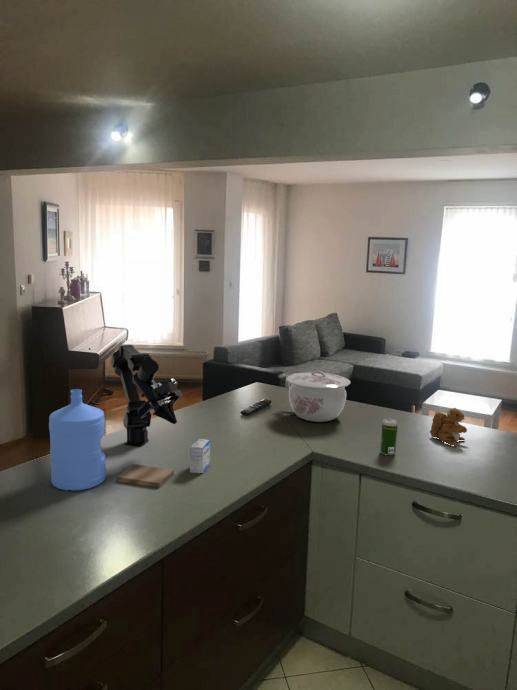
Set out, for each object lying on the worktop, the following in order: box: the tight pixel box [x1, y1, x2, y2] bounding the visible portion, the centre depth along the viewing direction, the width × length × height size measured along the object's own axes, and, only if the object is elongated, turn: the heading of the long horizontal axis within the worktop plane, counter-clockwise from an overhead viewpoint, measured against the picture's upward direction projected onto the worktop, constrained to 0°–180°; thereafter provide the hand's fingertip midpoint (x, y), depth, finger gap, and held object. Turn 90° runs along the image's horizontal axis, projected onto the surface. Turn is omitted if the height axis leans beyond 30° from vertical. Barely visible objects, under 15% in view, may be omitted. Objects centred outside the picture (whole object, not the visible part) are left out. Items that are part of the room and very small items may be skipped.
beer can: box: [379, 418, 399, 456], centre depth 186 cm, size 5×5×12 cm
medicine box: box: [189, 438, 211, 474], centre depth 169 cm, size 8×4×9 cm, turn 168°
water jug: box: [48, 388, 107, 492], centre depth 156 cm, size 16×16×28 cm
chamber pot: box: [285, 370, 351, 423], centre depth 225 cm, size 28×28×21 cm
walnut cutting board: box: [116, 463, 175, 489], centre depth 161 cm, size 14×10×2 cm
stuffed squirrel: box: [429, 407, 468, 447], centre depth 201 cm, size 10×14×13 cm
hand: (175, 423), depth 175 cm, fingers closed
